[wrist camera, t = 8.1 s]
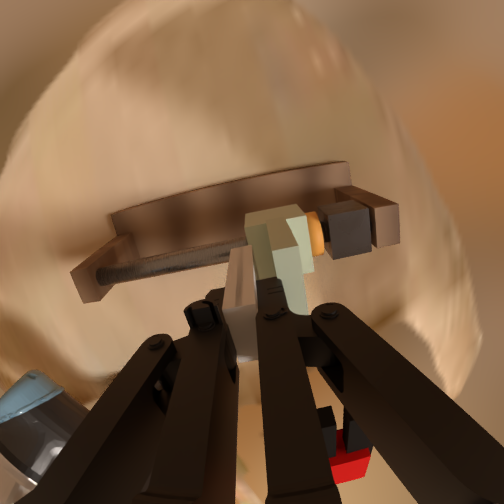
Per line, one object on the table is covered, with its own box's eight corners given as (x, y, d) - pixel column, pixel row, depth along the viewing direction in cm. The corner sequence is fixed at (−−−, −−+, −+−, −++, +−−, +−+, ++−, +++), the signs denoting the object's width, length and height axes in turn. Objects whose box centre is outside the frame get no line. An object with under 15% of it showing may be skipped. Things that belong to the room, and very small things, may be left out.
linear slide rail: (137, 274, 32) (95, 327, 21) (116, 212, 29) (59, 244, 18) (352, 231, 30) (399, 273, 19) (343, 161, 27) (395, 169, 17)
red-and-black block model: (391, 419, 32) (373, 473, 40) (375, 383, 39) (365, 446, 48) (297, 444, 33) (307, 490, 41) (291, 404, 40) (303, 461, 49)
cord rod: (106, 287, 23) (91, 304, 20) (94, 255, 22) (76, 269, 19) (372, 234, 22) (389, 247, 19) (369, 197, 20) (387, 204, 17)
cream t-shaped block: (256, 263, 23) (259, 335, 14) (244, 211, 21) (240, 257, 12) (304, 253, 23) (336, 319, 14) (295, 201, 21) (329, 239, 12)
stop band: (304, 248, 22) (312, 264, 19) (298, 209, 21) (305, 219, 18) (316, 246, 22) (326, 261, 19) (310, 207, 21) (320, 217, 18)
